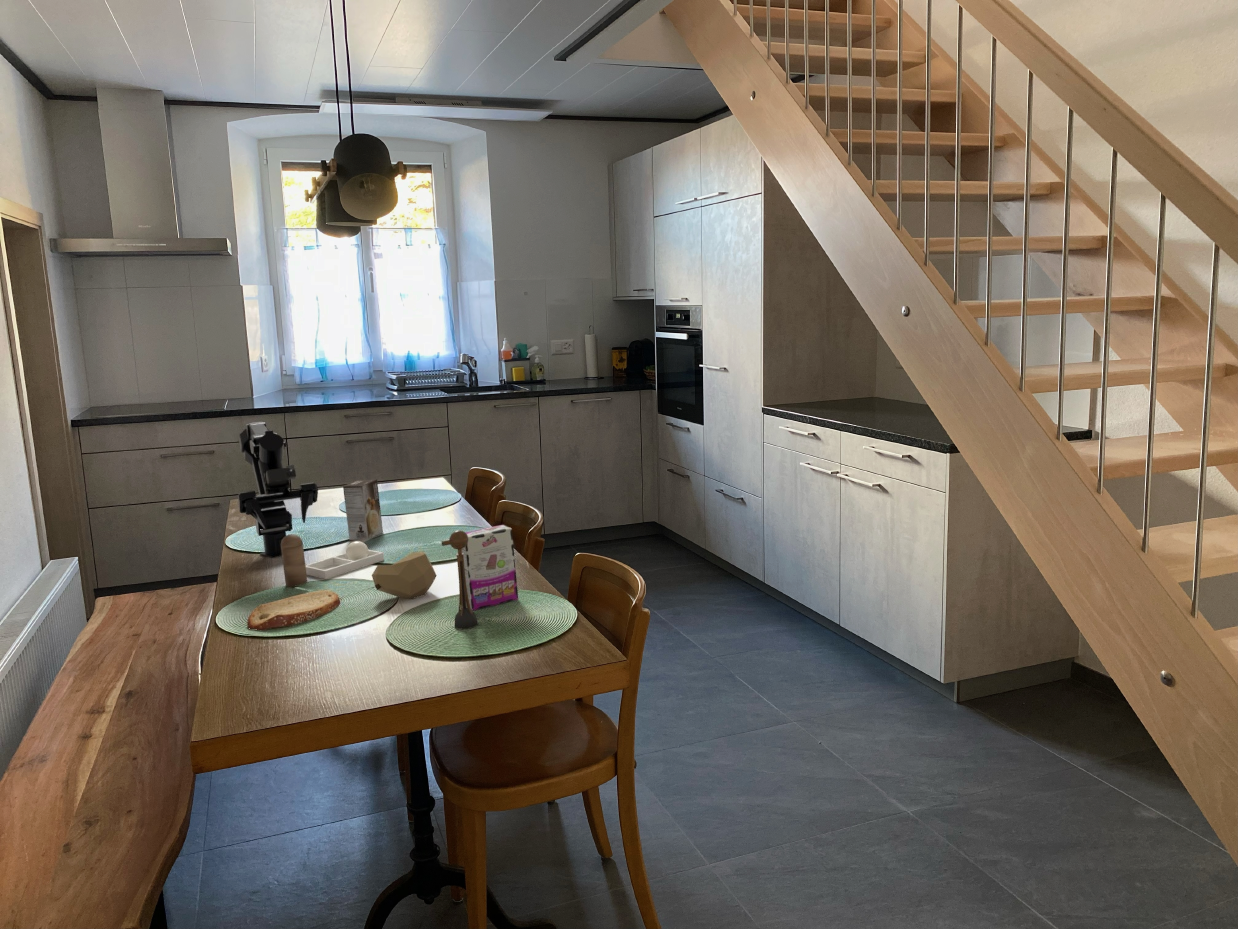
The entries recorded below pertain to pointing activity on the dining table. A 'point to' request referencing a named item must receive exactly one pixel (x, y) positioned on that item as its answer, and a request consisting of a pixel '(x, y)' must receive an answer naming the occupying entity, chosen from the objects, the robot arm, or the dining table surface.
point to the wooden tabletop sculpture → (462, 582)
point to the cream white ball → (356, 551)
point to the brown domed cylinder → (293, 560)
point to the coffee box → (363, 509)
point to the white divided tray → (341, 565)
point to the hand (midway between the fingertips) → (285, 525)
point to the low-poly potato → (406, 576)
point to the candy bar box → (490, 567)
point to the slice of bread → (293, 610)
